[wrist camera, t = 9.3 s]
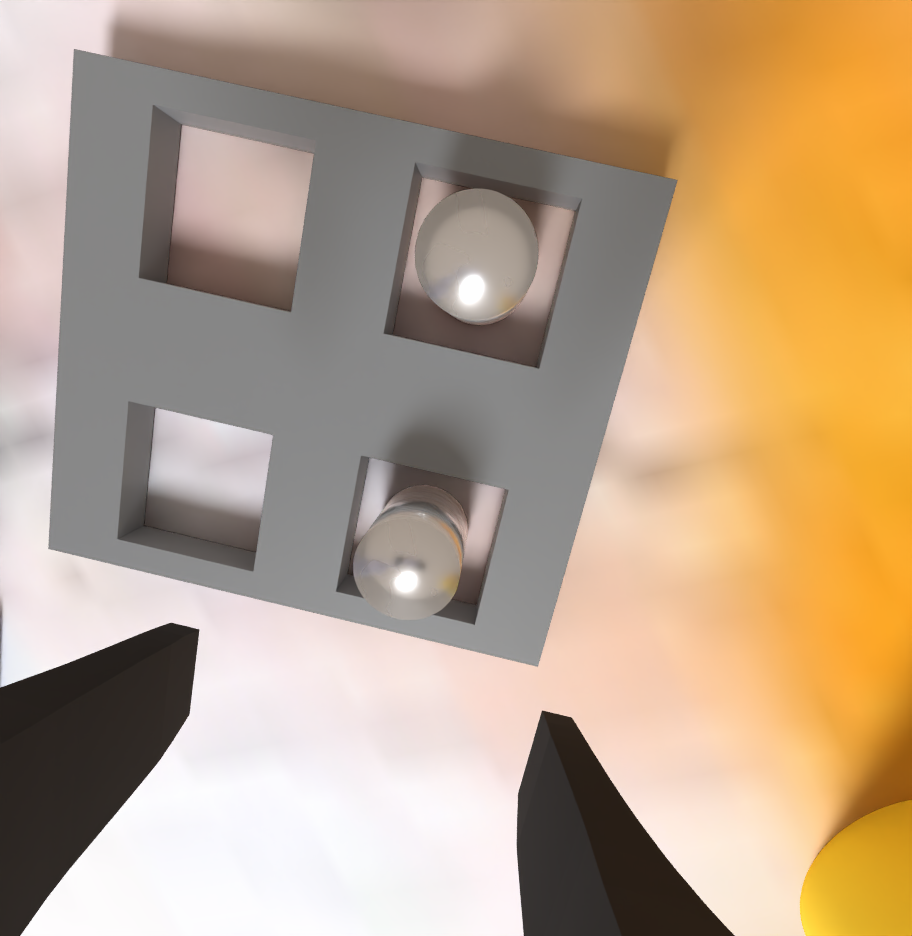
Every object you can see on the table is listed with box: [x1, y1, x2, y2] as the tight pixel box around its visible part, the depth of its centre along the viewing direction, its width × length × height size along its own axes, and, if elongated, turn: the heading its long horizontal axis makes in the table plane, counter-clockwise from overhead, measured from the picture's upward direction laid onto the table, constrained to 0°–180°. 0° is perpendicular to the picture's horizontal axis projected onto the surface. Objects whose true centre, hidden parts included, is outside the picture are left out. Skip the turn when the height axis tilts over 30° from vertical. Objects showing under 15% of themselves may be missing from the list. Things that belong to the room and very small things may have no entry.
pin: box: [415, 189, 538, 325], centre depth 16 cm, size 3×3×4 cm
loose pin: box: [353, 485, 468, 620], centre depth 18 cm, size 3×3×4 cm
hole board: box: [48, 49, 677, 667], centre depth 18 cm, size 18×16×2 cm
